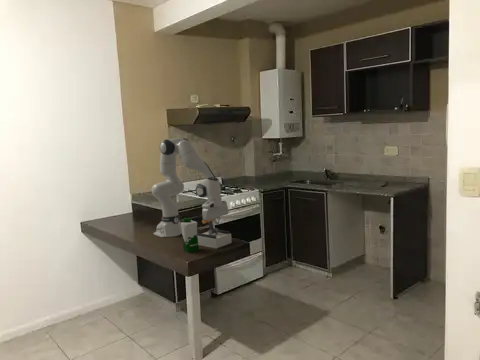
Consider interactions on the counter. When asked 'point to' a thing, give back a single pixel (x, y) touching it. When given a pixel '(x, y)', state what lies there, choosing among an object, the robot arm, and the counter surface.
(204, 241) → the box
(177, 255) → the counter surface
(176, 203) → the robot arm
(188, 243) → the milk carton
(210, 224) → the lever
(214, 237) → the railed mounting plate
